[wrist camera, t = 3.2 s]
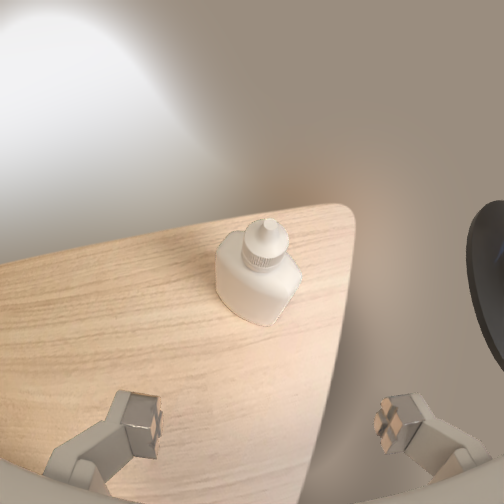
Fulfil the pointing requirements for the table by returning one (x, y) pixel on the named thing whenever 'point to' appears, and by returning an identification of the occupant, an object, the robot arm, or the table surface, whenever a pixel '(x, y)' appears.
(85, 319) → the table surface
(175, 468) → the table surface
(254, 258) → the eye dropper bottle
